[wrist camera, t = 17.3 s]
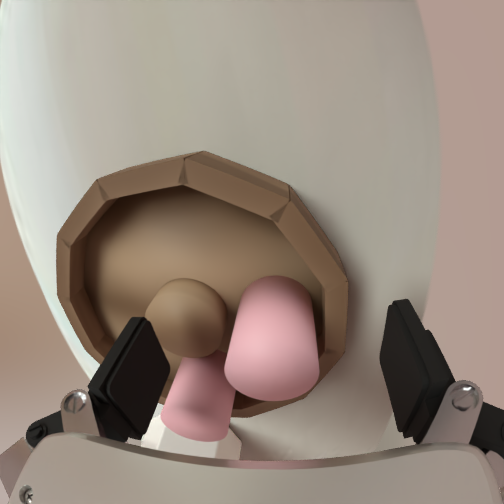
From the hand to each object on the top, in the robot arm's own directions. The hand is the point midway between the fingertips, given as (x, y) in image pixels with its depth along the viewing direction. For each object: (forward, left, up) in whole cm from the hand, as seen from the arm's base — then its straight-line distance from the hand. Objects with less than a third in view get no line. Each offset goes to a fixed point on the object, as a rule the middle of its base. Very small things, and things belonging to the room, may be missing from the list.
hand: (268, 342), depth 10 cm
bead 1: (+5, -4, -4) cm, 8 cm away
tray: (+1, -4, -5) cm, 7 cm away
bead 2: (+1, 0, -4) cm, 4 cm away
